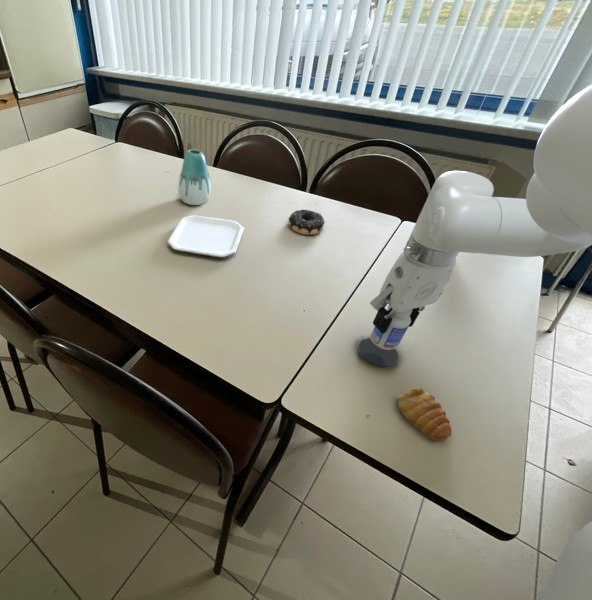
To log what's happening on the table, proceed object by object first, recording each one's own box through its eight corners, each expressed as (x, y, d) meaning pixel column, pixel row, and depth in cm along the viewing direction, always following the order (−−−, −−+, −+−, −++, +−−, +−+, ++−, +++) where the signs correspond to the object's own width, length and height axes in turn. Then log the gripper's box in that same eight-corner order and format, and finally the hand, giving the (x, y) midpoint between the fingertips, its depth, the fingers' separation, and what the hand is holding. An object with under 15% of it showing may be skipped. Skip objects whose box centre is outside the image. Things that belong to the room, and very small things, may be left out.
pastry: (458, 436, 64) (468, 425, 62) (427, 447, 63) (437, 436, 60) (418, 393, 71) (426, 381, 69) (389, 402, 70) (396, 390, 67)
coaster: (405, 362, 77) (407, 361, 76) (373, 371, 75) (374, 369, 75) (380, 336, 82) (381, 334, 82) (350, 343, 81) (351, 341, 80)
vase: (215, 197, 134) (217, 147, 122) (202, 211, 126) (203, 159, 114) (186, 191, 138) (186, 142, 126) (172, 204, 130) (170, 153, 118)
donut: (319, 219, 122) (322, 208, 120) (325, 237, 113) (329, 226, 111) (286, 217, 123) (288, 206, 120) (289, 236, 114) (292, 224, 112)
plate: (184, 219, 122) (184, 213, 121) (245, 228, 118) (246, 221, 116) (163, 252, 107) (163, 246, 106) (233, 264, 103) (233, 257, 101)
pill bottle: (401, 339, 76) (420, 305, 70) (393, 355, 73) (412, 320, 67) (374, 327, 79) (391, 293, 72) (366, 342, 76) (382, 307, 69)
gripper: (404, 270, 56) (367, 348, 68) (491, 252, 60) (441, 329, 72) (373, 245, 62) (343, 321, 74) (454, 230, 65) (413, 304, 77)
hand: (392, 324), depth 73 cm, fingers closed on pill bottle, 5 cm apart
